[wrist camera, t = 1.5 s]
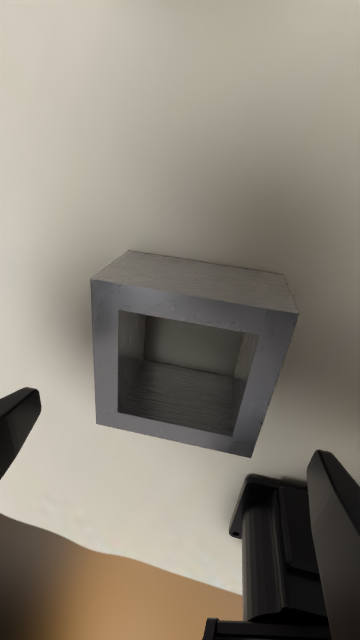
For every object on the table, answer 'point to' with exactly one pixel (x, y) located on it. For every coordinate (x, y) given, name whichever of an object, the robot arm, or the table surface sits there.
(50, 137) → the table surface
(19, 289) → the table surface
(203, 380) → the collar
